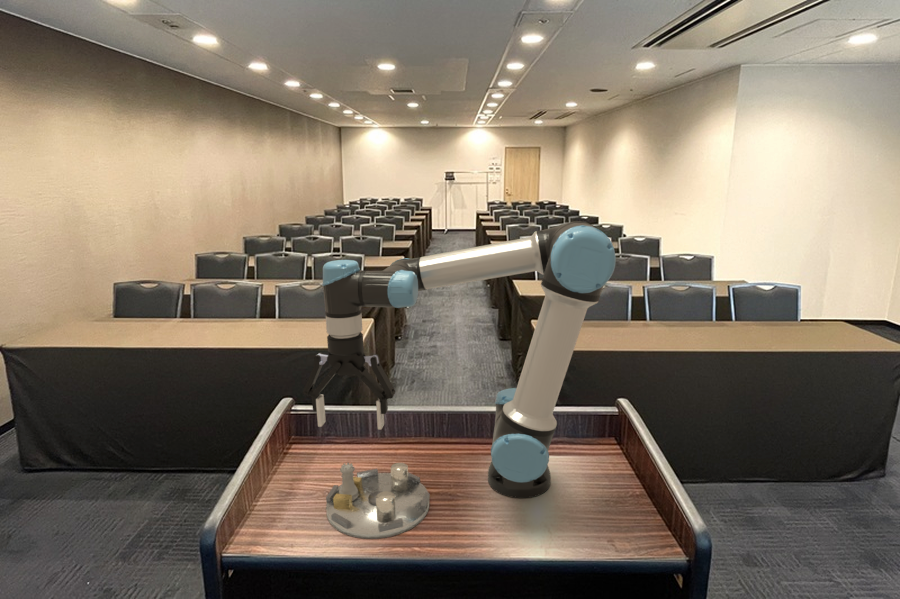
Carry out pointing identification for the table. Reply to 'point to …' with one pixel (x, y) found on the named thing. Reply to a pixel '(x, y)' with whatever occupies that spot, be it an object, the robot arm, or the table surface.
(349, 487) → the rook chess piece
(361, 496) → the carrier plate
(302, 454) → the table surface
